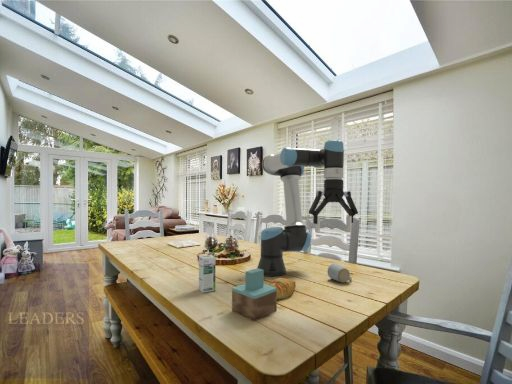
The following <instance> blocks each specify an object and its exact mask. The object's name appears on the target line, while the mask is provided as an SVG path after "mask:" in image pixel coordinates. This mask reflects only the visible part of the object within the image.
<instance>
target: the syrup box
mask: <svg viewBox="0 0 512 384" xmlns="http://www.w3.org/2000/svg"><path fill="white" fill-rule="evenodd" d="M198 289H199V290H200V292H201V293H202V294H205V293H209V292H216V256H215V255H214V254H205V255H199V256H198Z"/></svg>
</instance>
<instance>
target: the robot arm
mask: <svg viewBox="0 0 512 384" xmlns="http://www.w3.org/2000/svg"><path fill="white" fill-rule="evenodd" d="M323 146H324V147H323V148H322V149H316V148H298V147H297V148H296V147H283V148H282V150H281V151H280V152H279V153H277V154H269V155H267V156H265V157H264V158H263V159H262V161H261V168H262V169H263V171H264V173H267V174H268V175H270V176H277V177H278V176H279V177H280V180H281V182H283V192H284V206H285V207H284V208H285V217H286V218H285V219H286V224H285V225H284V226H283V227H284V228H283V227H281V226H276V227H275V226H272V227H271V226H270V227H266V228H264V229H262V230H261V232H260V238H259V239H260V240H259V241H260V259H259V261H258V265H257V268H258V269H262V270H264V277H281V276H285V275H286V274H287V267H286V264H285V261H284V258H283V257H284V253H286V252H287V253H289V252H305V251H307V250H309V247H310V246H311V242H312V234H311V231H310V229H308V228H307V227H306V224H304V223H303V215H302V203H301V202H302V201H301V195H300V194H301V193H300V182H299V181H300V180H301V179H302V176H303V175H304V172H305V171H304V170H305V167H313V168H319V169H321V168H324V170H323V171H324V173H323V177H324V181H323V191H321V190H317V191H316V192H315V193H316V194H315V198H314V200H313V202H312V204H311V206H310V208H309V210H308V214H309V215H312V223H313V224H314V232H316V233H318V234H319V233H320V232H321V225H320V224H321V223H320V222H321V216H320V213H321V212H322V210H324V209H325V207H326V205H327V204H329V203H338V204H340V206H341V207H342V208H343V210H344V211H345V213H347V215H346V216H345V217H346V221H345V222H346V224H345V225H346V226H345V229H346V232H348V233H352V226H353V224H354V217H355V216H356V215H358V213H359V211H358V209H357V207H356V205H355V202H354V200H353V198H352V192H351V191H349V190H347V191H344V161H345V157H344V156H345V149H344V142H343V141H342V140H340V139H331V140H327V141H325V142H324V145H323ZM322 197H324V198H323V200H322V202H321V203H320V200H321V199H322ZM343 197H345V199H344V198H343ZM345 200H346V201H345ZM347 203H348V204H347ZM257 268H256V269H257Z"/></svg>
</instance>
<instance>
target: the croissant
mask: <svg viewBox="0 0 512 384" xmlns="http://www.w3.org/2000/svg"><path fill="white" fill-rule="evenodd" d="M269 286H272V287H275V288H277V300H284V299H288V297H290V296H292V294H293V292H294V290H295V289H296V281H294V280H289V279H288V278H287V277H277V278H275V279H273V280H271V281H270V283H269Z"/></svg>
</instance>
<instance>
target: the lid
mask: <svg viewBox="0 0 512 384" xmlns="http://www.w3.org/2000/svg"><path fill="white" fill-rule="evenodd" d="M264 279H265V276H264V270H262V269H258V268H255V269H254V268H253V269H250V270H246V271H245V280H244V281H245V283H244V284H243V283H242V284H241V285H238V286H233V287H232V290H231V292H232V291H234V292H237V293H240V294H242V295H245V296H248V297H250V298H253V299H257V298H259V297H262V296H264V295H267V294H270V293H272V292H275V291H277V288H275V287H272V286H269V285H270V284H269V285H268V284H265V283H264Z"/></svg>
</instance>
